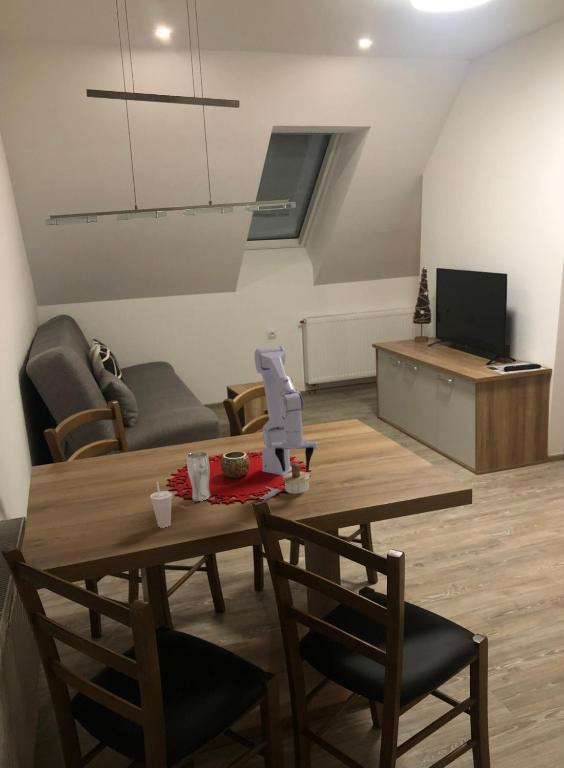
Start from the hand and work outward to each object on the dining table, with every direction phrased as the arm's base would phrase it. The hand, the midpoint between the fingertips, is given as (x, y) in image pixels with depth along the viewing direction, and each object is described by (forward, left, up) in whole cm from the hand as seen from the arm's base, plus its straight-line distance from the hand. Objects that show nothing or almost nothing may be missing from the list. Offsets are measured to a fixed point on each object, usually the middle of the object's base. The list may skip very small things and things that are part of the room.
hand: (295, 470), depth 207 cm
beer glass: (-23, -21, -7) cm, 32 cm away
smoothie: (-19, -41, -7) cm, 46 cm away
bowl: (0, 0, -7) cm, 7 cm away
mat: (-8, -8, -7) cm, 13 cm away
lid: (0, 0, -3) cm, 3 cm away
